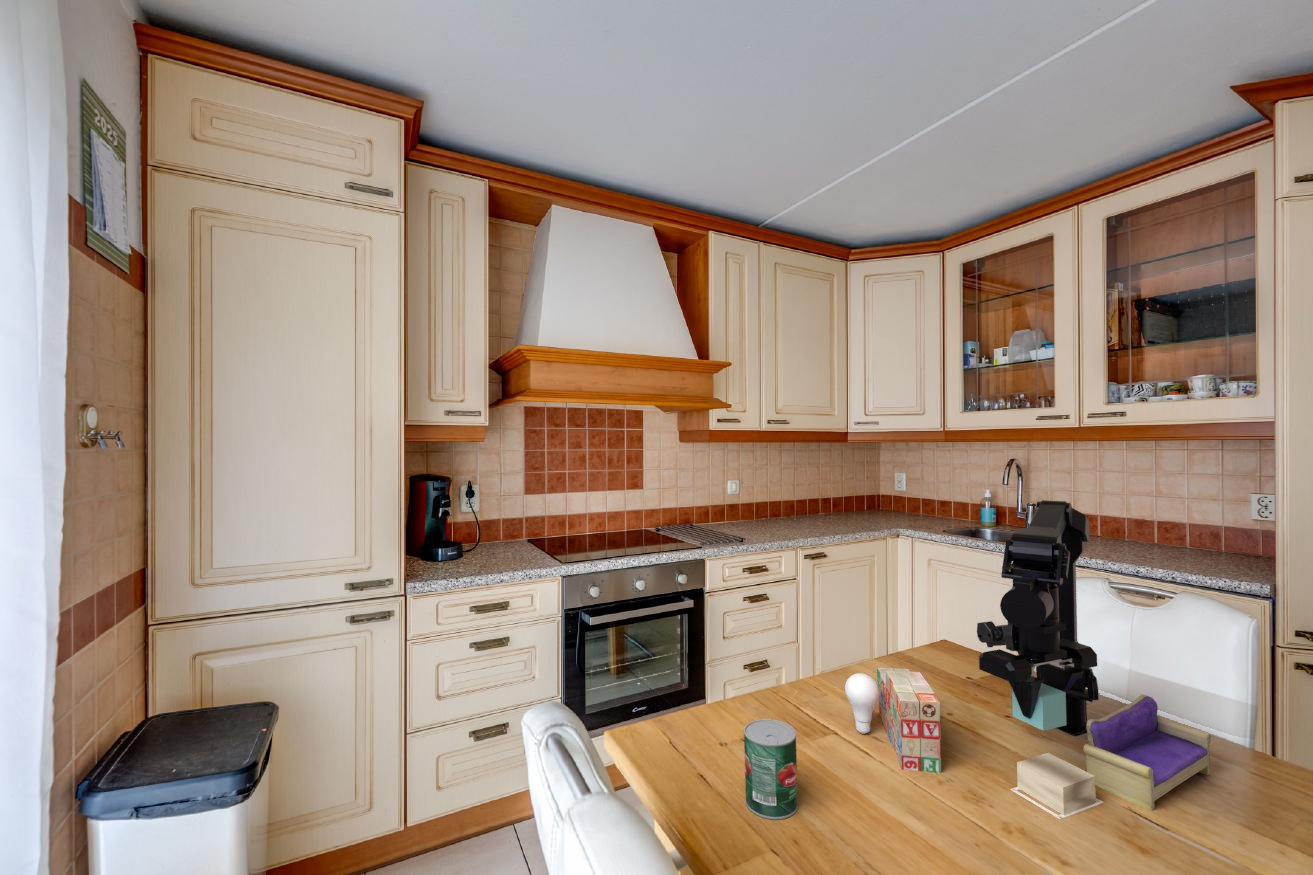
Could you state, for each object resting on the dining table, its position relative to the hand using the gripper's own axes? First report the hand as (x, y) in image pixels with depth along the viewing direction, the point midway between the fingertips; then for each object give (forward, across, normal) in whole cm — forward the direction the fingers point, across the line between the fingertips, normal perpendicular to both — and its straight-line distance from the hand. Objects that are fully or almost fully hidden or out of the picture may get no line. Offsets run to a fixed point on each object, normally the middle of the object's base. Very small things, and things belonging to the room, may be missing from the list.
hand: (1039, 714), depth 89 cm
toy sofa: (+12, -18, +4) cm, 22 cm away
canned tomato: (+12, +41, -12) cm, 44 cm away
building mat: (+12, 0, +2) cm, 12 cm away
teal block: (+1, 0, 0) cm, 1 cm away
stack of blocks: (+12, +9, -19) cm, 24 cm away
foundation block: (+11, 0, +2) cm, 11 cm away
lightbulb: (+12, +14, -24) cm, 30 cm away
